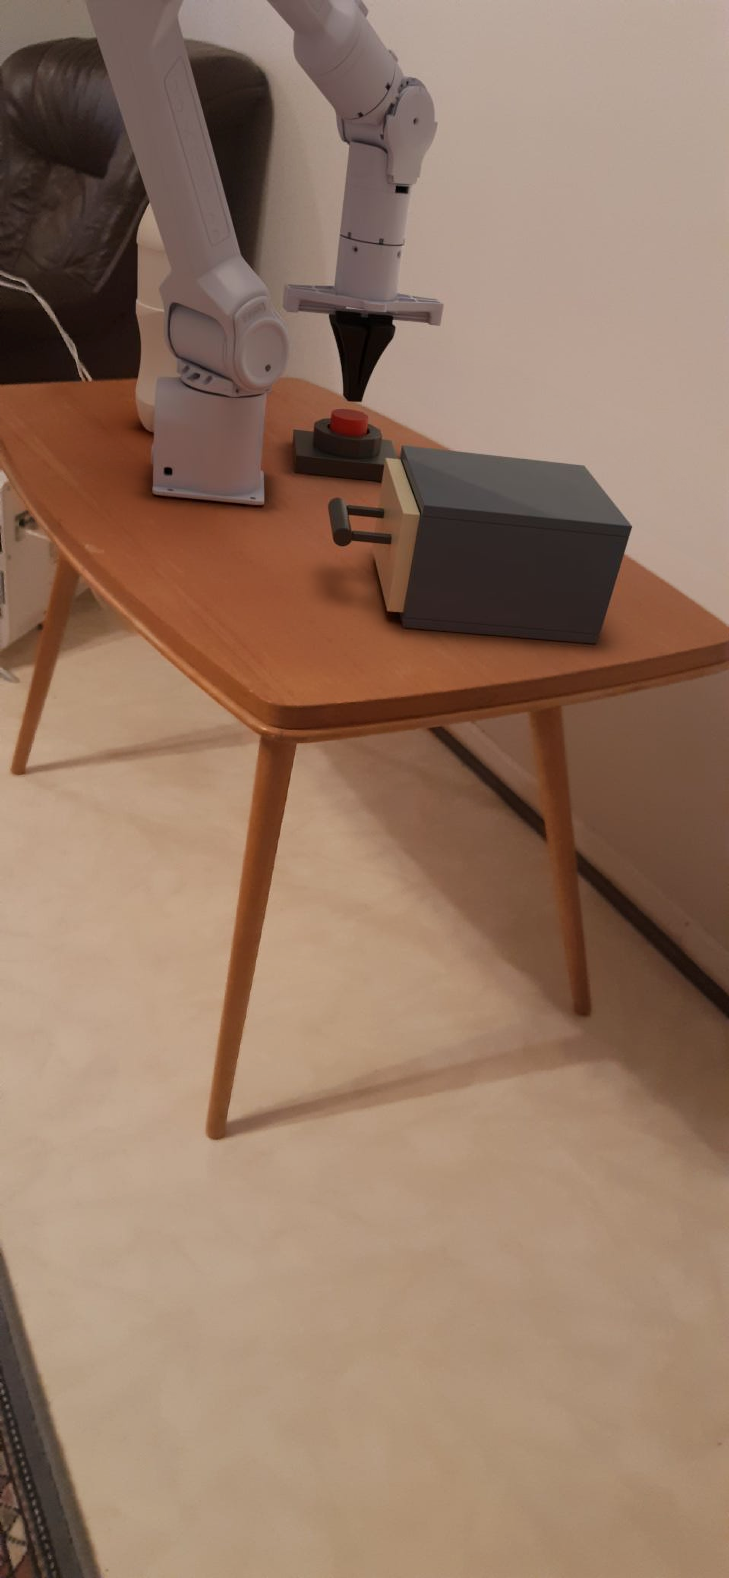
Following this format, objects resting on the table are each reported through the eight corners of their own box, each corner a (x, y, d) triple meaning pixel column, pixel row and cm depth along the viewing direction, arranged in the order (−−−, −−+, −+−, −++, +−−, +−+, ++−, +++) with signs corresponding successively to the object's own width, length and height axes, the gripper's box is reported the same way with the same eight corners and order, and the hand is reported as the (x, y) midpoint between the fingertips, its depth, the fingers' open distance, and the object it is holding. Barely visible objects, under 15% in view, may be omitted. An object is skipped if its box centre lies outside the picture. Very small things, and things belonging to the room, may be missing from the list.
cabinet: (402, 628, 73) (424, 504, 68) (384, 556, 83) (401, 445, 78) (597, 644, 75) (632, 526, 70) (556, 573, 85) (584, 465, 80)
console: (294, 472, 97) (298, 435, 95) (291, 446, 103) (295, 410, 101) (398, 483, 98) (404, 447, 96) (389, 456, 105) (394, 422, 103)
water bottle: (176, 446, 98) (185, 141, 84) (119, 426, 101) (119, 127, 87) (222, 433, 104) (238, 144, 89) (168, 414, 106) (175, 131, 92)
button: (330, 436, 97) (332, 418, 96) (328, 425, 100) (330, 407, 99) (367, 440, 98) (370, 422, 97) (364, 429, 101) (366, 411, 100)
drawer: (328, 606, 72) (341, 506, 68) (319, 543, 81) (330, 451, 77) (568, 627, 75) (594, 532, 71) (533, 563, 84) (555, 476, 80)
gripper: (300, 238, 84) (285, 406, 92) (464, 256, 89) (436, 416, 96) (283, 224, 90) (271, 384, 98) (439, 242, 94) (414, 394, 102)
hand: (352, 399), depth 97 cm, fingers closed
